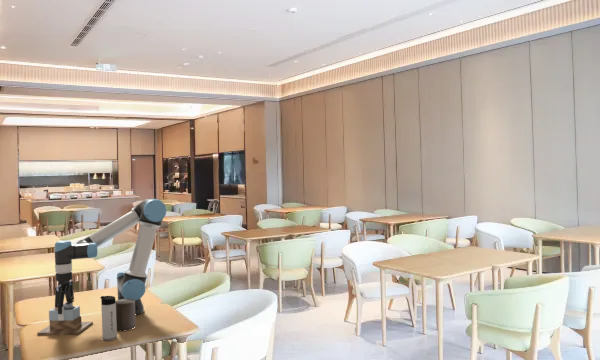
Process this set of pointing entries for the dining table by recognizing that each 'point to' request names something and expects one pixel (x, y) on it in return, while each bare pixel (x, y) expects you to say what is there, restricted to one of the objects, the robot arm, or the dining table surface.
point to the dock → (66, 331)
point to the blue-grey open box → (65, 314)
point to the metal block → (68, 306)
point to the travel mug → (109, 317)
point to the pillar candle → (125, 314)
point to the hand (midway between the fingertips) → (65, 317)
